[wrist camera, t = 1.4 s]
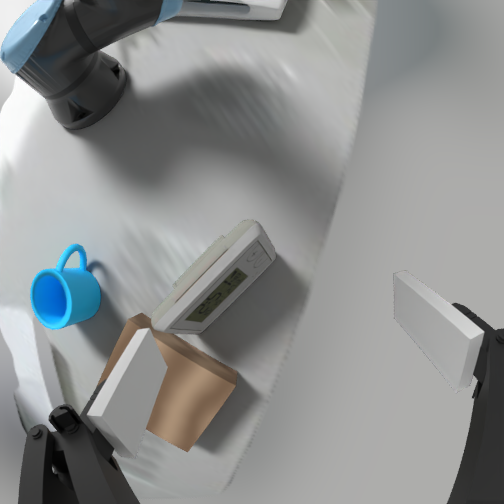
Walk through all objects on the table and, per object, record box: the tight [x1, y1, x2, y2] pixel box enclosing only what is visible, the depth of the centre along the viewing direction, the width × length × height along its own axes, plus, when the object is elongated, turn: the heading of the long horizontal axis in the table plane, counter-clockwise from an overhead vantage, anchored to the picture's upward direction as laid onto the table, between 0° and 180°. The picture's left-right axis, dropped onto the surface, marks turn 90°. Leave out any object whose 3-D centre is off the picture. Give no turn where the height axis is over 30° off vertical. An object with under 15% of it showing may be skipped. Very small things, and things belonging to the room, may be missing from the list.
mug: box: [30, 244, 101, 330], centre depth 34 cm, size 12×8×8 cm
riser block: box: [96, 313, 237, 452], centre depth 36 cm, size 16×14×5 cm
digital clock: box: [151, 220, 276, 334], centre depth 33 cm, size 16×9×11 cm, turn 124°
